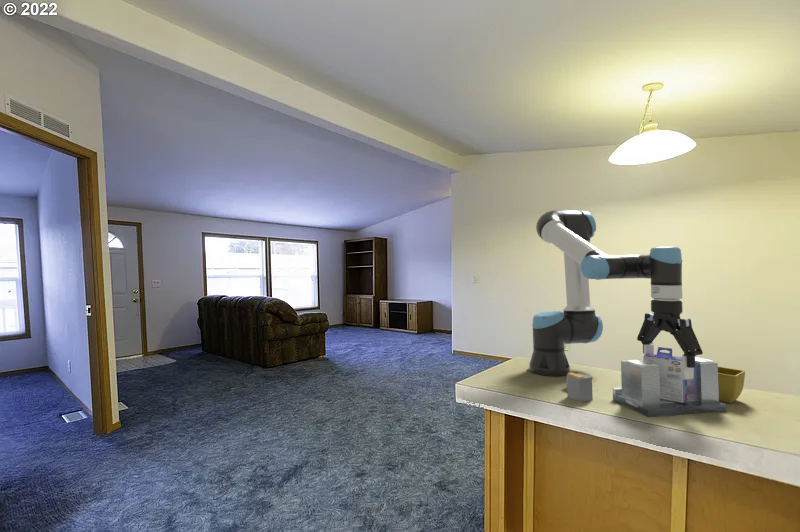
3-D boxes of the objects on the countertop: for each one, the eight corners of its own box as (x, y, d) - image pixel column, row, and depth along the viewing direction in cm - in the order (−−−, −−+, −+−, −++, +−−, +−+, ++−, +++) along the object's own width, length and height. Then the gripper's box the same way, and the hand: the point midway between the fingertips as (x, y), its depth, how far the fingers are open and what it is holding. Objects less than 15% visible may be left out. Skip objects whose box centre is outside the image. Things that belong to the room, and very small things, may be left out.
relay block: (567, 396, 119) (567, 373, 119) (580, 395, 120) (579, 371, 121) (579, 402, 114) (578, 377, 114) (592, 400, 116) (591, 375, 116)
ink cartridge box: (688, 399, 109) (686, 349, 109) (685, 404, 105) (683, 352, 105) (648, 391, 116) (646, 345, 116) (643, 396, 112) (642, 347, 112)
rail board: (612, 399, 116) (611, 356, 116) (682, 394, 119) (680, 352, 119) (648, 417, 102) (646, 367, 102) (726, 411, 105) (724, 363, 105)
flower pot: (736, 407, 108) (735, 375, 108) (699, 398, 115) (699, 369, 115) (746, 400, 112) (745, 370, 113) (710, 393, 120) (709, 365, 120)
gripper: (623, 296, 121) (624, 361, 122) (693, 304, 97) (694, 386, 97) (644, 295, 122) (645, 360, 122) (718, 303, 98) (720, 384, 98)
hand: (667, 371), depth 110 cm, fingers open, 13 cm apart
